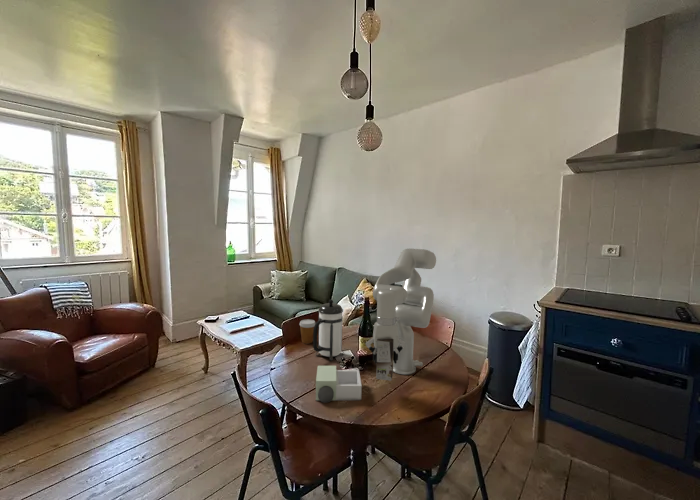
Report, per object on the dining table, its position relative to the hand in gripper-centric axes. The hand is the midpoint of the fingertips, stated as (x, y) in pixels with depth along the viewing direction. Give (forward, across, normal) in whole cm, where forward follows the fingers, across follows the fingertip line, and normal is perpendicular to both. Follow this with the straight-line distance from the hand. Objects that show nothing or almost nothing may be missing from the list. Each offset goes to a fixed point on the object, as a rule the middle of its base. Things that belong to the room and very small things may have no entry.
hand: (385, 361), depth 126 cm
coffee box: (+6, 0, 0) cm, 6 cm away
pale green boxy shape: (+14, +20, -2) cm, 24 cm away
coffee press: (+15, +24, -36) cm, 45 cm away
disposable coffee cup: (+15, +37, -56) cm, 68 cm away
